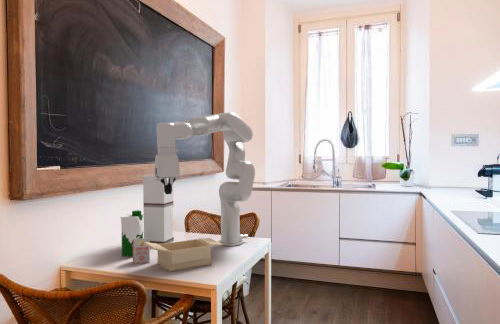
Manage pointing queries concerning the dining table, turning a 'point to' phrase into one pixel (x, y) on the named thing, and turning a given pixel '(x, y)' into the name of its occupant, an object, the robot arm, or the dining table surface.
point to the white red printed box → (141, 251)
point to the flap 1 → (155, 246)
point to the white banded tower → (157, 211)
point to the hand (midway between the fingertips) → (168, 193)
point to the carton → (184, 255)
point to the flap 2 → (210, 241)
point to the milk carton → (131, 231)
